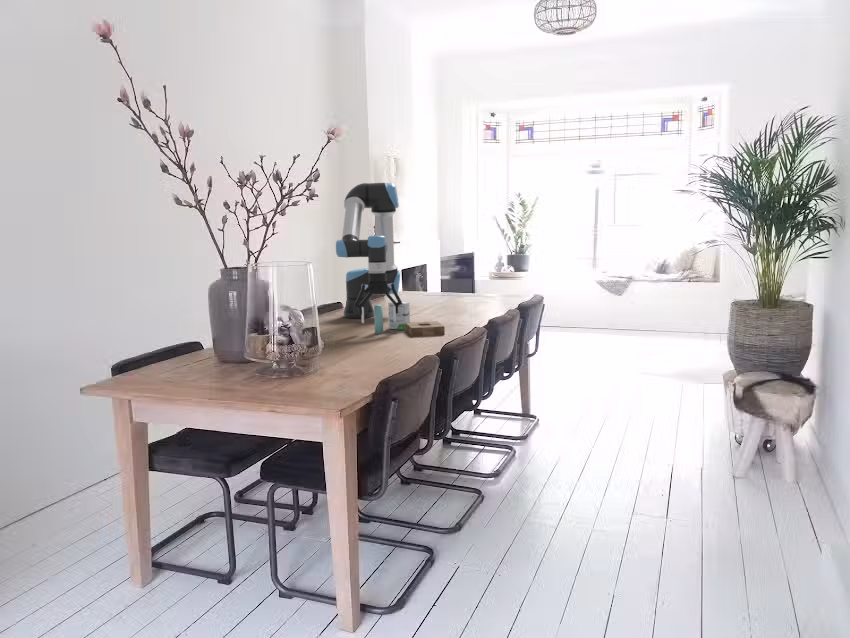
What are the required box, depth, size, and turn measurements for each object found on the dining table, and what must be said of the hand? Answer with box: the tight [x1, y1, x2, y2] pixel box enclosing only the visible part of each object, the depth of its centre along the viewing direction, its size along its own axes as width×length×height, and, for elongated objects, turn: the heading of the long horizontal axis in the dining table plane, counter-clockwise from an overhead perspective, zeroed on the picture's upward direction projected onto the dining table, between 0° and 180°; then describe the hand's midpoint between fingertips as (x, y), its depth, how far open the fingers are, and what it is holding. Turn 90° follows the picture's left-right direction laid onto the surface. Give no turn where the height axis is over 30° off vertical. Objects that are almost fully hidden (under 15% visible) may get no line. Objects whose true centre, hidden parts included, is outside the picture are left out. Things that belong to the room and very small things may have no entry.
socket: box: [405, 320, 446, 337], centre depth 301 cm, size 14×14×4 cm
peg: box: [373, 304, 384, 335], centre depth 301 cm, size 4×4×12 cm
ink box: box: [387, 301, 411, 331], centre depth 311 cm, size 9×5×12 cm, turn 60°
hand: (378, 322), depth 301 cm, fingers open, 13 cm apart
